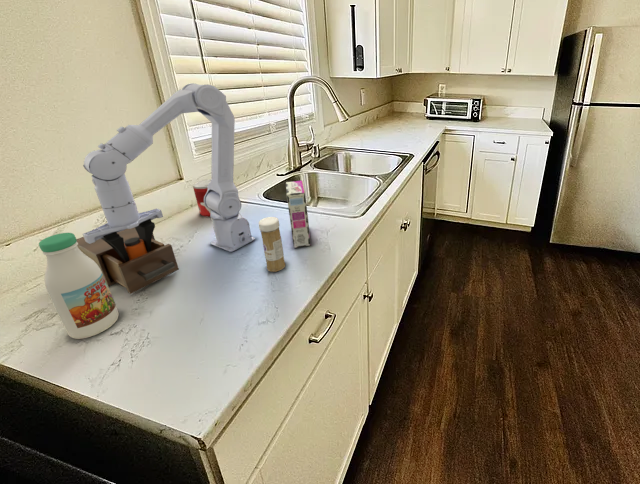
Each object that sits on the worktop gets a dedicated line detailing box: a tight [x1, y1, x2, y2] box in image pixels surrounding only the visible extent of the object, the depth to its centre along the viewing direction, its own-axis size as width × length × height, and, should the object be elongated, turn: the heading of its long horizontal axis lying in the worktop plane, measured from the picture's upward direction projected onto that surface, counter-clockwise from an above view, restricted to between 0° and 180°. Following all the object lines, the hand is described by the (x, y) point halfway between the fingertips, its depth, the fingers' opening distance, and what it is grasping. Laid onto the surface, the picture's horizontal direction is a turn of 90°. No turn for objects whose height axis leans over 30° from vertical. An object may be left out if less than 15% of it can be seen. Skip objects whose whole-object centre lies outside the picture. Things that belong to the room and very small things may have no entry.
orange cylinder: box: [124, 237, 147, 262], centre depth 77 cm, size 4×4×6 cm
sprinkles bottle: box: [258, 216, 286, 273], centre depth 81 cm, size 5×5×14 cm
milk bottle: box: [38, 232, 120, 340], centre depth 62 cm, size 8×8×20 cm
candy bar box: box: [285, 180, 312, 249], centre depth 94 cm, size 11×5×16 cm, turn 20°
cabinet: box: [76, 227, 156, 287], centre depth 83 cm, size 13×12×9 cm
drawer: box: [100, 239, 180, 295], centre depth 78 cm, size 16×10×7 cm, turn 62°
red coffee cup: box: [192, 179, 211, 218], centre depth 112 cm, size 8×8×11 cm
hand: (136, 255), depth 78 cm, fingers closed on orange cylinder, 4 cm apart
